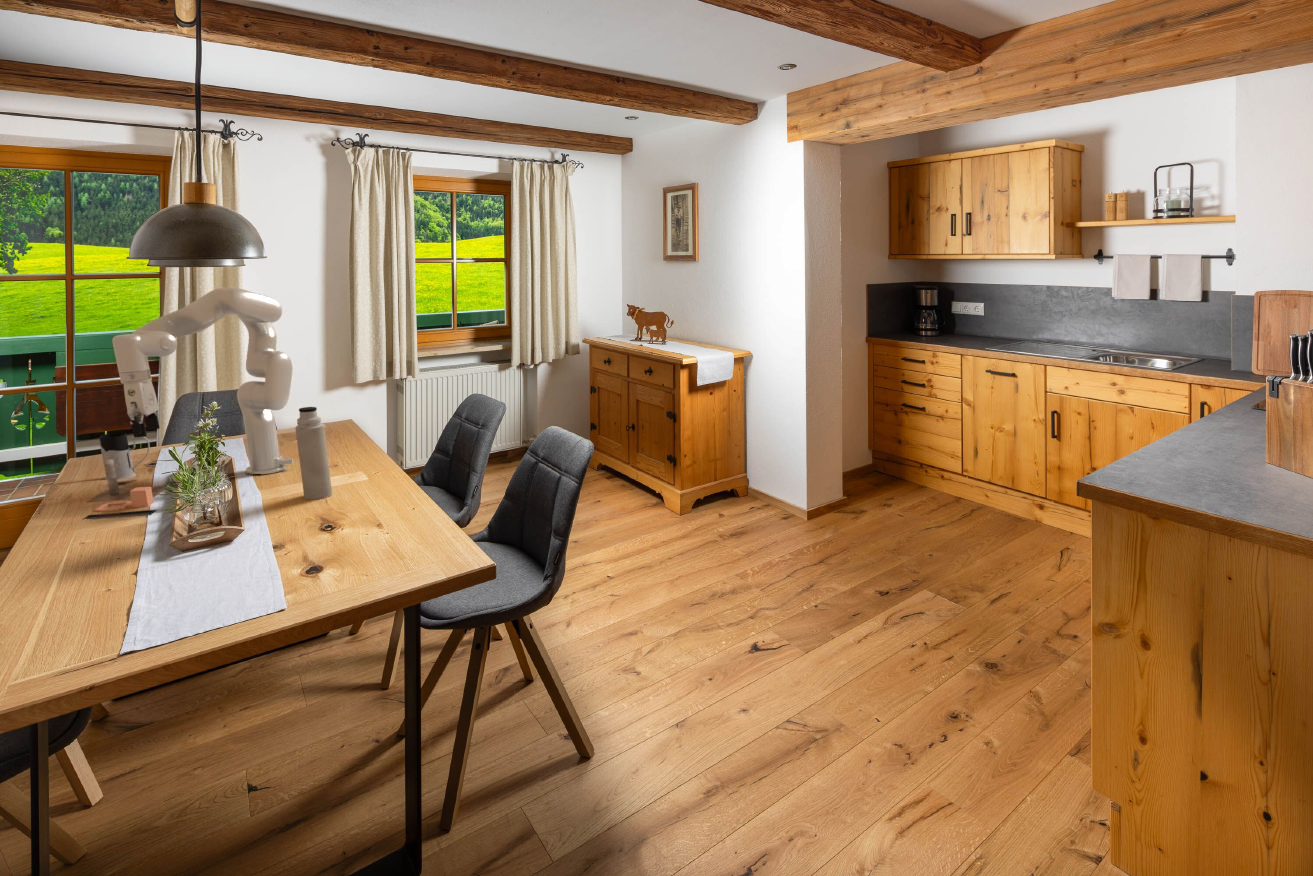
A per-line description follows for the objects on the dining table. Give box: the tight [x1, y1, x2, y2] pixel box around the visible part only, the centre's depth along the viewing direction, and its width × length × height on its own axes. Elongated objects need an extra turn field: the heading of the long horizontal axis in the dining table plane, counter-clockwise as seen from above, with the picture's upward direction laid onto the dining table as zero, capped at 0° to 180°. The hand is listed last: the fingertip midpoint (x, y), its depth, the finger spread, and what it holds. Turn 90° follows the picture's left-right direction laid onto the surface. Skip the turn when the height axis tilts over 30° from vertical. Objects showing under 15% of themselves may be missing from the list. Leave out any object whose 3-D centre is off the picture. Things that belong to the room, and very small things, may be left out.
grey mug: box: [99, 432, 151, 481], centre depth 252 cm, size 9×14×15 cm, turn 114°
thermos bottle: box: [295, 406, 333, 500], centre depth 227 cm, size 8×8×28 cm
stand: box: [86, 459, 166, 503], centre depth 228 cm, size 18×13×12 cm
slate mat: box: [82, 509, 157, 521], centre depth 217 cm, size 17×12×1 cm
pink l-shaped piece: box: [94, 486, 155, 515], centre depth 217 cm, size 13×7×6 cm, turn 103°
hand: (147, 432), depth 221 cm, fingers open, 9 cm apart
